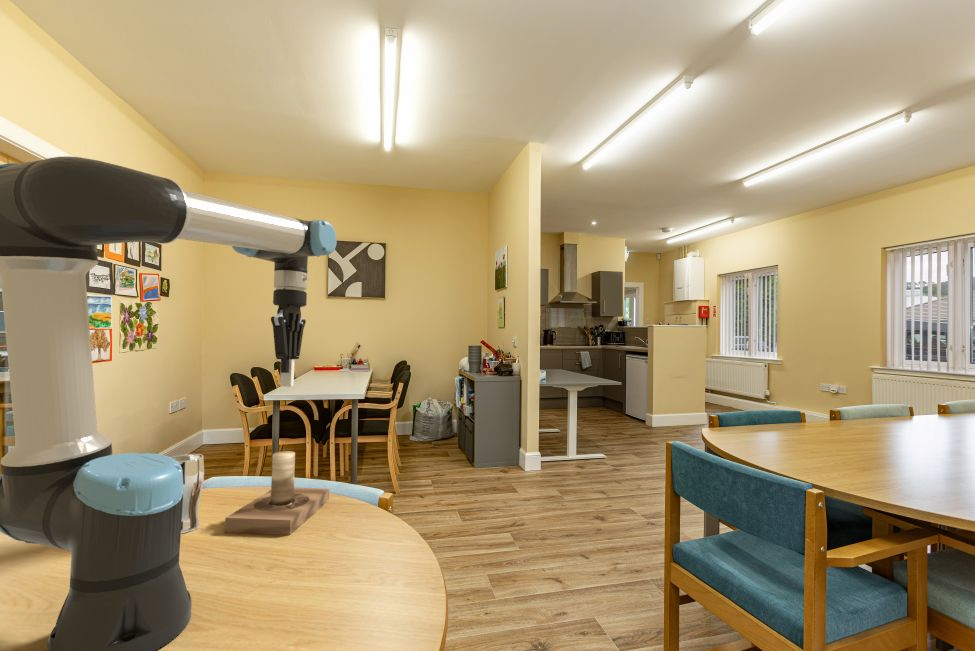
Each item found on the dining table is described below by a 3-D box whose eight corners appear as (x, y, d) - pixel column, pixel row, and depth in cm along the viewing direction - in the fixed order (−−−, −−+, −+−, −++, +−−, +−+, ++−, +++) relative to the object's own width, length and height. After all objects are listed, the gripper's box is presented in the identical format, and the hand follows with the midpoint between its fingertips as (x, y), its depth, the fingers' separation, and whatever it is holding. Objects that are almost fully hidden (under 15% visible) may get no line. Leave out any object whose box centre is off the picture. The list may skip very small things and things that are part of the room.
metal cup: (186, 536, 90) (190, 462, 91) (153, 535, 90) (157, 461, 91) (209, 522, 97) (212, 453, 98) (178, 521, 97) (181, 453, 98)
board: (290, 534, 92) (290, 520, 92) (224, 532, 92) (225, 517, 92) (328, 500, 112) (329, 488, 112) (275, 498, 112) (275, 486, 112)
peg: (286, 519, 100) (289, 456, 100) (265, 518, 100) (268, 456, 100) (296, 511, 104) (298, 451, 105) (276, 510, 104) (278, 450, 105)
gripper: (292, 286, 102) (288, 389, 101) (316, 293, 115) (313, 384, 114) (260, 286, 102) (256, 388, 101) (288, 292, 115) (285, 383, 114)
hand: (286, 386), depth 107 cm, fingers closed
